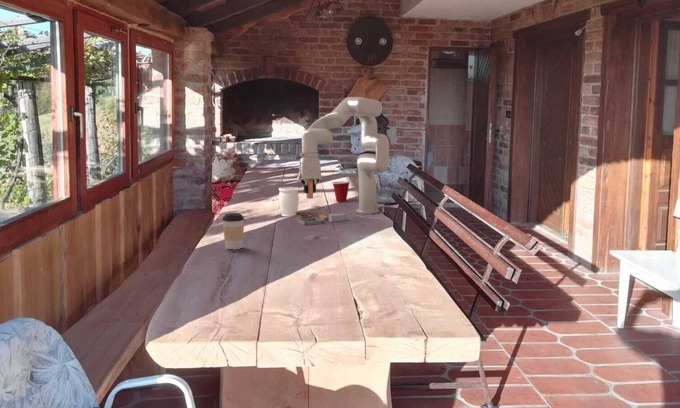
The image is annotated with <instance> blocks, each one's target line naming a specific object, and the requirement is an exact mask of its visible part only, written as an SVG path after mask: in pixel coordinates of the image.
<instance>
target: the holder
mask: <svg viewBox="0 0 680 408" xmlns="http://www.w3.org/2000/svg"><path fill="white" fill-rule="evenodd" d="M303 218H313V215H312V214H309V213H305V214H304V213H303V214H297V215H296V218H295V220H296V221H297V219H303Z"/></svg>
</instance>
